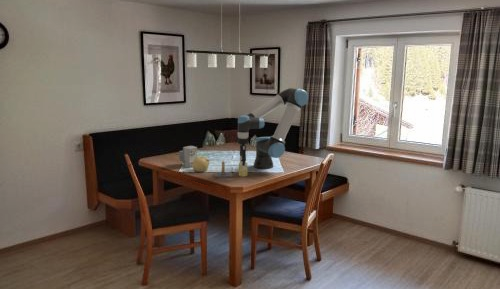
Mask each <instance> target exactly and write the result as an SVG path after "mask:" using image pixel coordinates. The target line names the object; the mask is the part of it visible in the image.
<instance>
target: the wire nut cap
mask: <svg viewBox="0 0 500 289" xmlns="http://www.w3.org/2000/svg"><path fill="white" fill-rule="evenodd" d="M241 166H242V163H240V162H238V176H239V177H247V176H248V163H247V162H246V167H245V170H241Z"/></svg>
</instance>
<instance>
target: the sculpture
mask: <svg viewBox="0 0 500 289" xmlns="http://www.w3.org/2000/svg"><path fill="white" fill-rule="evenodd" d="M209 166H210V159H209V158H207V157H205V156H197V157H196V158H195V160H194V161H193V164H192V167H193V168H192V169H193V170H194V172H196V173H197V172H200V173H201V172H206V171H207V170H208V168H209Z"/></svg>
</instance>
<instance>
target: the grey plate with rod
mask: <svg viewBox="0 0 500 289" xmlns="http://www.w3.org/2000/svg"><path fill="white" fill-rule="evenodd" d="M225 163H226V162H225V161H221V171H214V178H215V179H220V178H221V179H222V178H223V179H224V178H225V179H226V178H230V179H231V178H233V172H232V171H225V168H226V167H225V166H226V165H225Z"/></svg>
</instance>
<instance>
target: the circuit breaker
mask: <svg viewBox="0 0 500 289" xmlns="http://www.w3.org/2000/svg"><path fill="white" fill-rule="evenodd" d="M178 155H179V158H178V159H179V160H178V161H179V162H182V163H183V166H182V167H185V168H188V169H193V167H192V164H193V161H194V160H195V158H196V157H198V156H197V155H198V146H194V145H188V146H187V145H186V146H183V147H182V150H179V151H178Z"/></svg>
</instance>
